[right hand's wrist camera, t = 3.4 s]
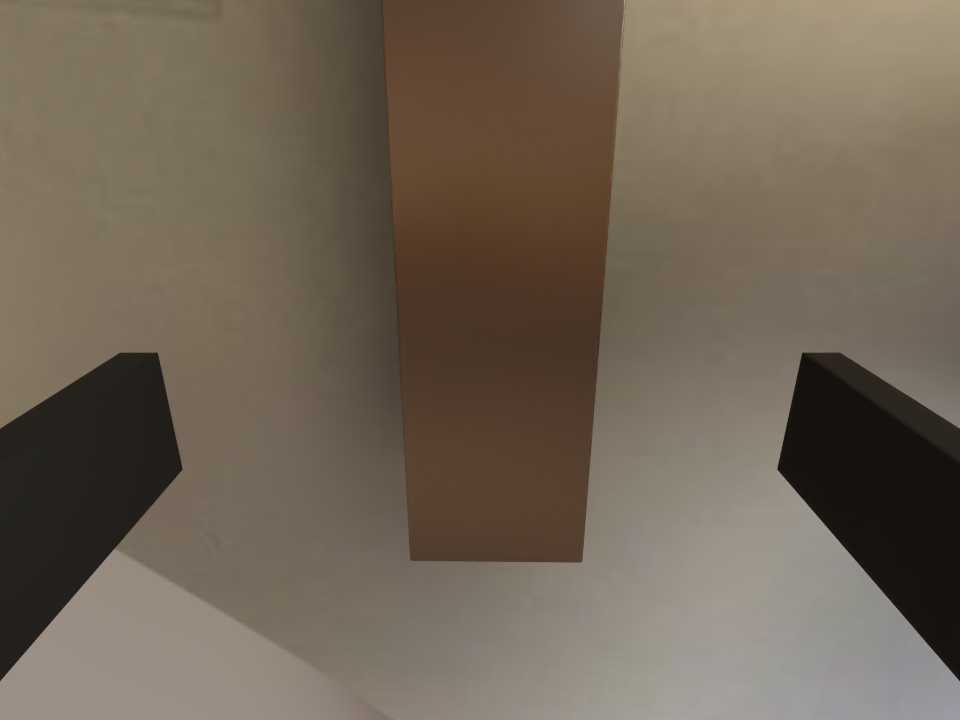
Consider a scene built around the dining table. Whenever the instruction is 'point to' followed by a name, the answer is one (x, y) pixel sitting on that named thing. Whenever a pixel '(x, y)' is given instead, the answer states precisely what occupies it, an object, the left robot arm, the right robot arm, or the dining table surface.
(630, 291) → the dining table surface
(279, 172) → the dining table surface
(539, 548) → the bar
